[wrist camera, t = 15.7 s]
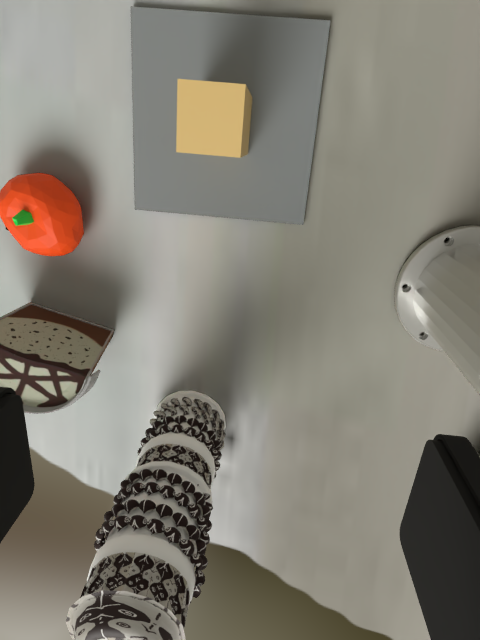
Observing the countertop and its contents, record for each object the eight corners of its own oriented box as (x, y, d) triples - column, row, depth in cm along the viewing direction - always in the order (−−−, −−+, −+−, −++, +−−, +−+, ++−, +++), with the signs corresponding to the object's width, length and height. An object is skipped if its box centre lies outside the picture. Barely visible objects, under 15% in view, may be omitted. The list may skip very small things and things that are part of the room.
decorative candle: (238, 445, 51) (208, 694, 28) (166, 457, 53) (82, 703, 30) (217, 380, 48) (163, 602, 25) (141, 395, 49) (24, 617, 26)
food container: (10, 345, 48) (-52, 394, 39) (17, 297, 46) (-48, 336, 36) (116, 380, 49) (79, 435, 40) (127, 334, 46) (91, 381, 37)
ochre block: (252, 97, 36) (245, 84, 28) (247, 154, 38) (240, 157, 30) (199, 93, 36) (177, 78, 28) (197, 149, 38) (176, 152, 30)
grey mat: (329, 22, 34) (330, 20, 34) (302, 223, 40) (303, 224, 40) (132, 8, 35) (130, 6, 34) (136, 208, 41) (134, 209, 40)
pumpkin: (66, 261, 44) (28, 284, 39) (8, 198, 42) (-41, 213, 37) (111, 221, 41) (77, 240, 36) (51, 151, 39) (5, 159, 34)
